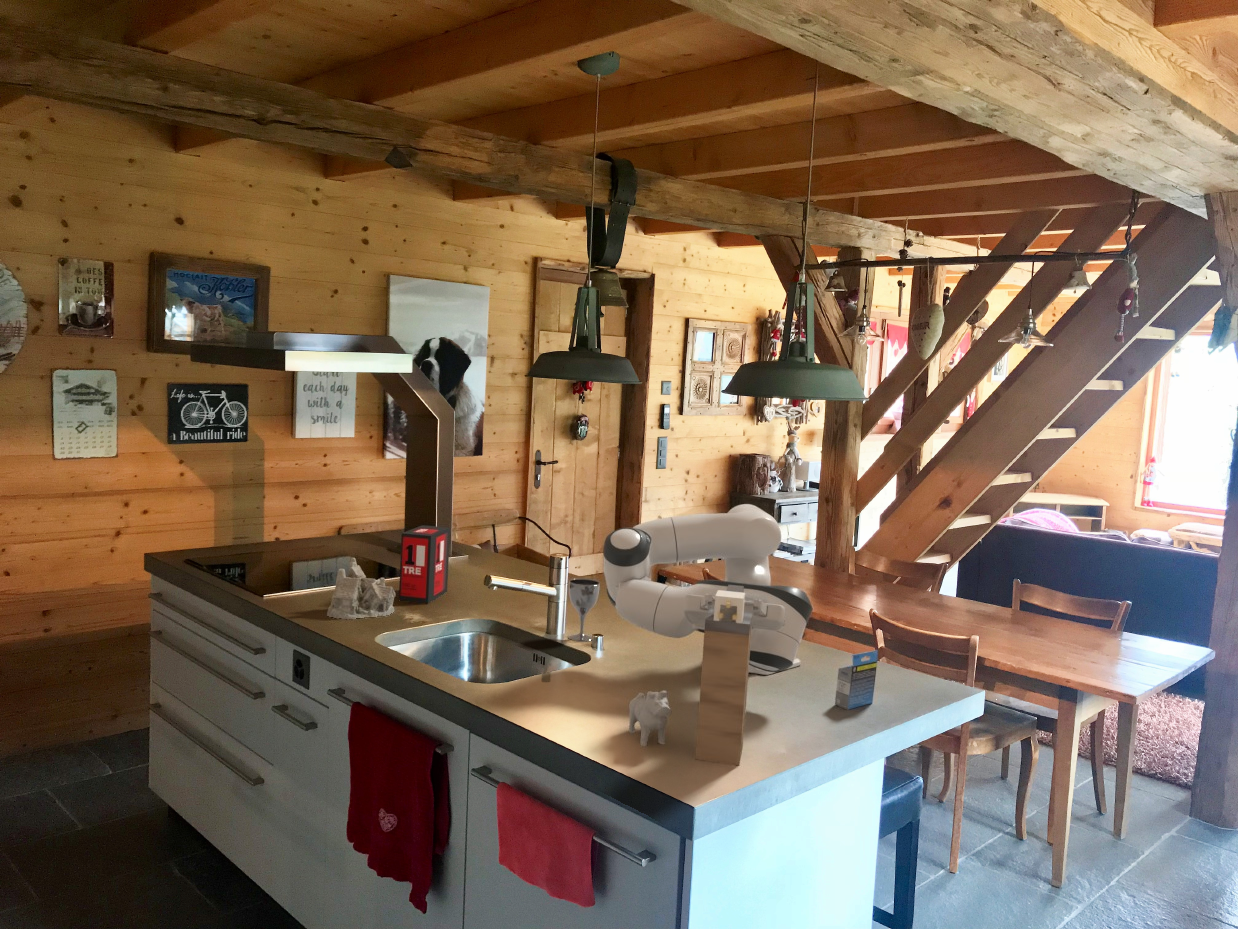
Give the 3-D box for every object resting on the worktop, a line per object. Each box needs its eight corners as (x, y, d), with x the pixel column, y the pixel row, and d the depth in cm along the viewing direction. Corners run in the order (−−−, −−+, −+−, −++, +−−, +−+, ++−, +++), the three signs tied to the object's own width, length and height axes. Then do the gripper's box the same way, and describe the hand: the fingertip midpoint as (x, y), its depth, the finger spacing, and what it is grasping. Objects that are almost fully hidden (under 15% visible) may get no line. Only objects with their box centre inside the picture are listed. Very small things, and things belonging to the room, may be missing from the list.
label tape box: (859, 698, 214) (863, 645, 213) (874, 704, 211) (878, 649, 210) (834, 705, 208) (838, 650, 207) (849, 710, 205) (853, 655, 204)
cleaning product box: (419, 589, 293) (422, 525, 291) (447, 592, 292) (450, 527, 290) (398, 601, 277) (401, 533, 275) (428, 604, 275) (431, 536, 274)
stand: (700, 741, 182) (710, 608, 180) (742, 747, 181) (752, 612, 178) (695, 759, 173) (705, 619, 171) (739, 765, 172) (750, 624, 170)
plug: (722, 599, 188) (724, 576, 188) (747, 601, 187) (749, 579, 187) (712, 622, 169) (714, 597, 169) (740, 625, 168) (742, 600, 168)
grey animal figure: (648, 754, 175) (652, 697, 174) (624, 728, 187) (627, 676, 186) (675, 751, 177) (679, 696, 176) (649, 726, 188) (652, 674, 188)
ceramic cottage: (317, 615, 255) (324, 560, 254) (352, 605, 271) (358, 553, 270) (368, 627, 251) (375, 571, 250) (400, 616, 266) (407, 563, 265)
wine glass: (596, 634, 254) (599, 579, 252) (596, 642, 246) (599, 585, 244) (566, 633, 253) (569, 577, 252) (565, 641, 246) (569, 584, 244)
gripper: (783, 641, 196) (785, 622, 183) (685, 629, 199) (680, 609, 187) (786, 611, 198) (788, 591, 186) (689, 600, 202) (684, 579, 190)
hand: (733, 600), depth 186 cm, fingers open, 8 cm apart
